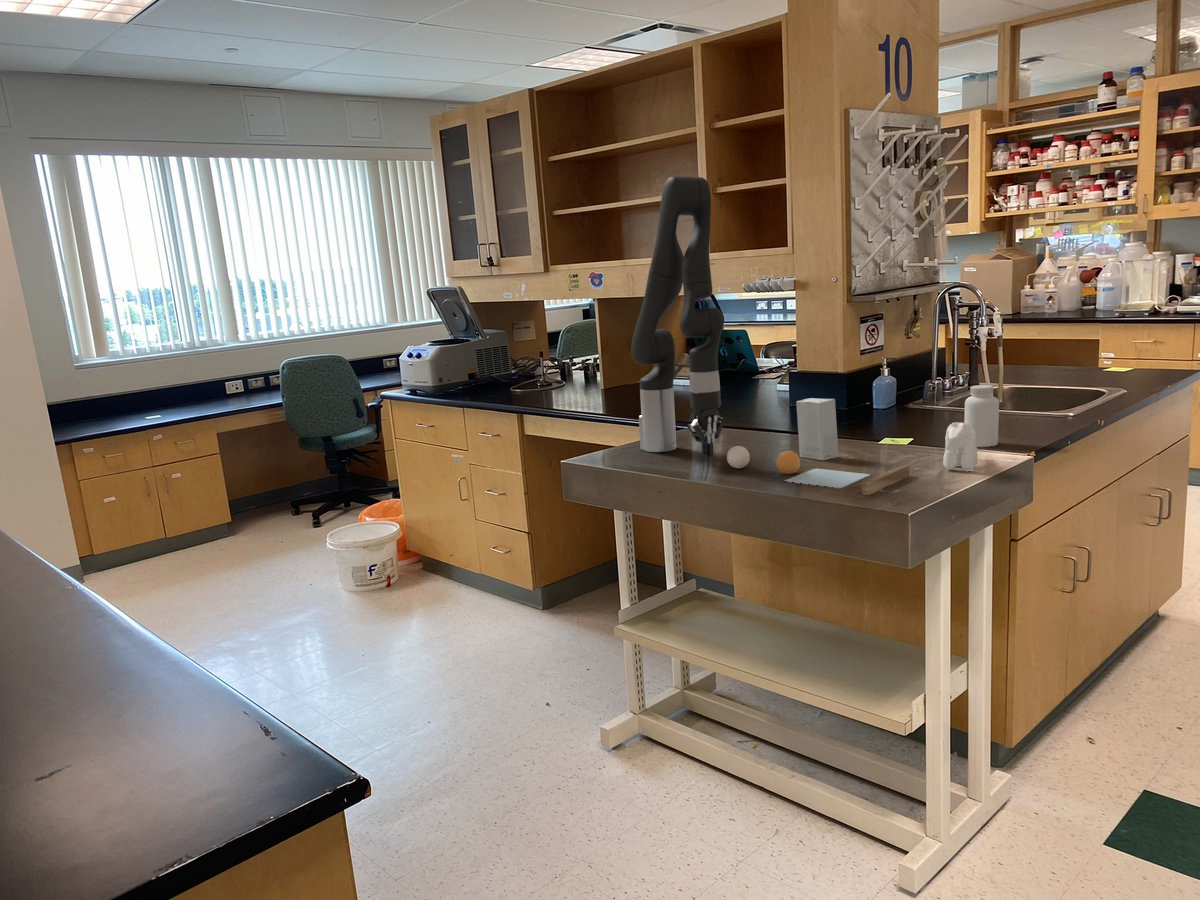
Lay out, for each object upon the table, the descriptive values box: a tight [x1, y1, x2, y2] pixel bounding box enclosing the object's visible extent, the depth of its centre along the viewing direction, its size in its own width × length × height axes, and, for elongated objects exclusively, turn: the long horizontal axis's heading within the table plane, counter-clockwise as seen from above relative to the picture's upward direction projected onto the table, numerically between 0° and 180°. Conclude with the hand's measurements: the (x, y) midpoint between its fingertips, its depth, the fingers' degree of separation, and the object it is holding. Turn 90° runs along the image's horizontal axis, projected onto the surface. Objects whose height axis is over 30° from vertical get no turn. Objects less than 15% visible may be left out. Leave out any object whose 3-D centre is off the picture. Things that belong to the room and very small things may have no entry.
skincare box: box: [795, 397, 839, 461], centre depth 218 cm, size 8×6×15 cm
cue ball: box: [726, 445, 751, 469], centre depth 213 cm, size 6×6×6 cm
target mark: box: [784, 468, 872, 489], centre depth 197 cm, size 14×14×1 cm
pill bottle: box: [963, 384, 1000, 448], centre depth 221 cm, size 8×8×15 cm
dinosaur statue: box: [942, 422, 978, 471], centre depth 199 cm, size 7×24×11 cm, turn 145°
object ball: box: [775, 450, 801, 475], centre depth 204 cm, size 6×6×6 cm
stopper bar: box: [860, 464, 910, 496], centre depth 188 cm, size 2×20×2 cm, turn 137°
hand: (708, 457), depth 220 cm, fingers closed
